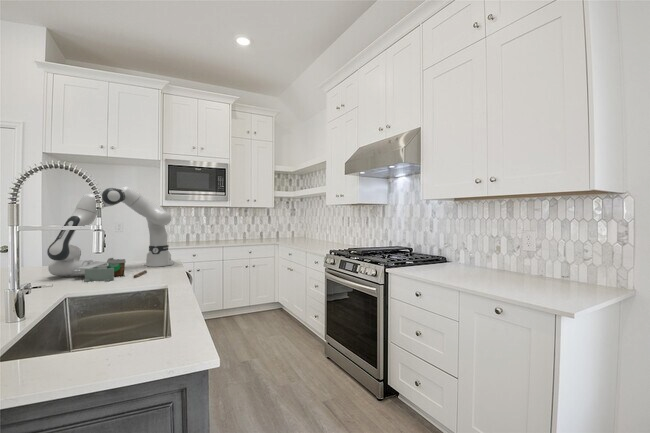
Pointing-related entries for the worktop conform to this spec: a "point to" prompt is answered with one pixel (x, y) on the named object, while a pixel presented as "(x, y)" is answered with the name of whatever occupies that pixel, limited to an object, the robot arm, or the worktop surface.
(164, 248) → the robot arm
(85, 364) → the worktop surface
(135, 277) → the rail
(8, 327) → the worktop surface
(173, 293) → the worktop surface
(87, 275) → the screen
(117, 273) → the food container
